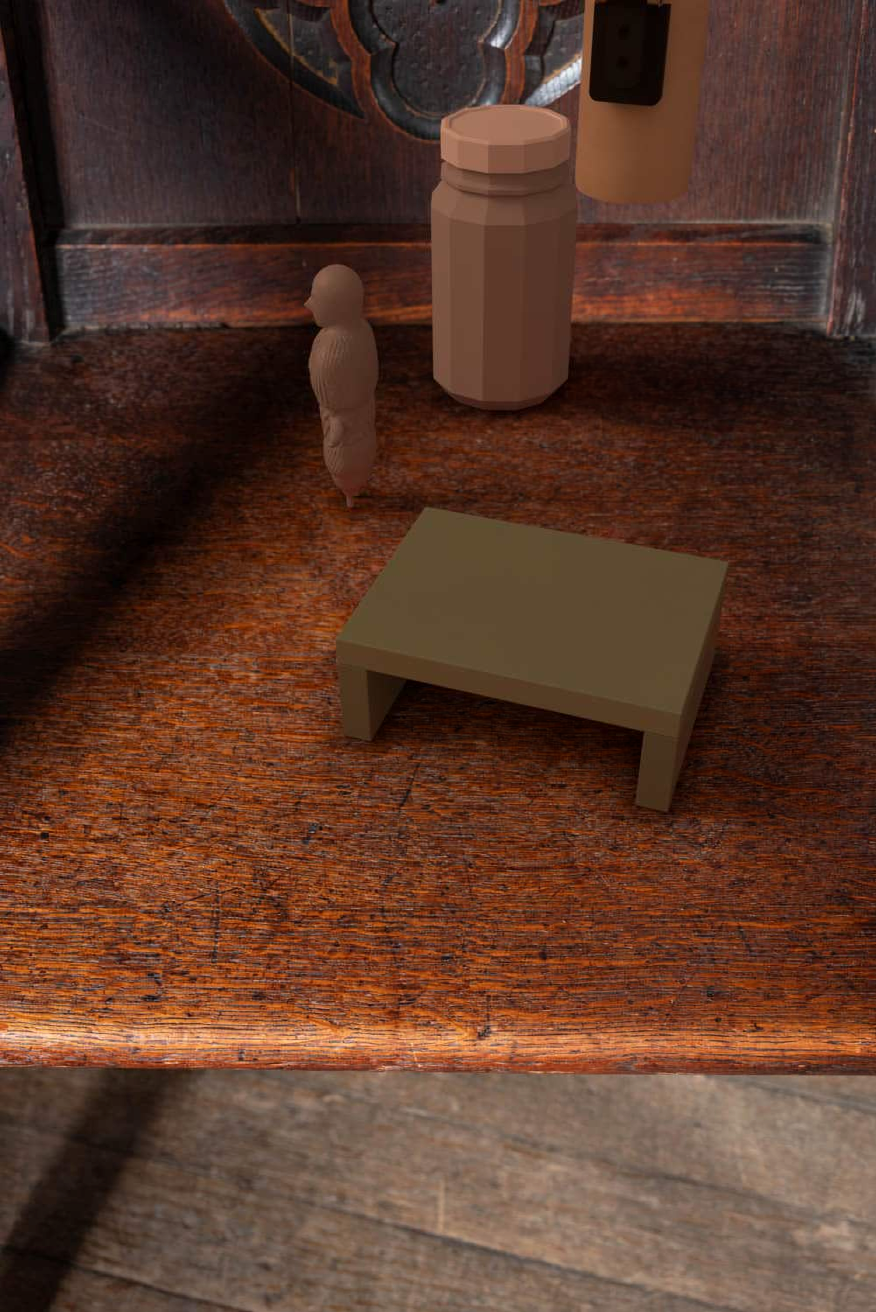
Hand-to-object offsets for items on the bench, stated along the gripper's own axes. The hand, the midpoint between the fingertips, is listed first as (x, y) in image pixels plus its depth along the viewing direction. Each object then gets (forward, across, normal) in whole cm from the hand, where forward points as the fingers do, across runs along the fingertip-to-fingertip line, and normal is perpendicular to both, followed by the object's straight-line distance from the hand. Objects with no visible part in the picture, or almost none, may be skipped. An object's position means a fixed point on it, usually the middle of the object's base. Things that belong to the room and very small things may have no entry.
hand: (642, 79), depth 58 cm
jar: (+26, +18, +12) cm, 34 cm away
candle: (+5, 0, 0) cm, 5 cm away
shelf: (+26, -14, 0) cm, 29 cm away
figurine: (+26, 0, +16) cm, 30 cm away
